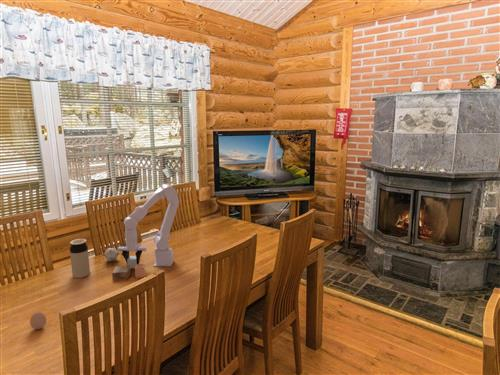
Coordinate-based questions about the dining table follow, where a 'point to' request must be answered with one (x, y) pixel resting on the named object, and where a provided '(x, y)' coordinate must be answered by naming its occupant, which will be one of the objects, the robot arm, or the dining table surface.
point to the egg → (38, 320)
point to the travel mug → (79, 258)
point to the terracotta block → (140, 270)
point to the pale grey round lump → (111, 254)
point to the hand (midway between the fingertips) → (133, 263)
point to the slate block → (132, 261)
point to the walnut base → (121, 272)
